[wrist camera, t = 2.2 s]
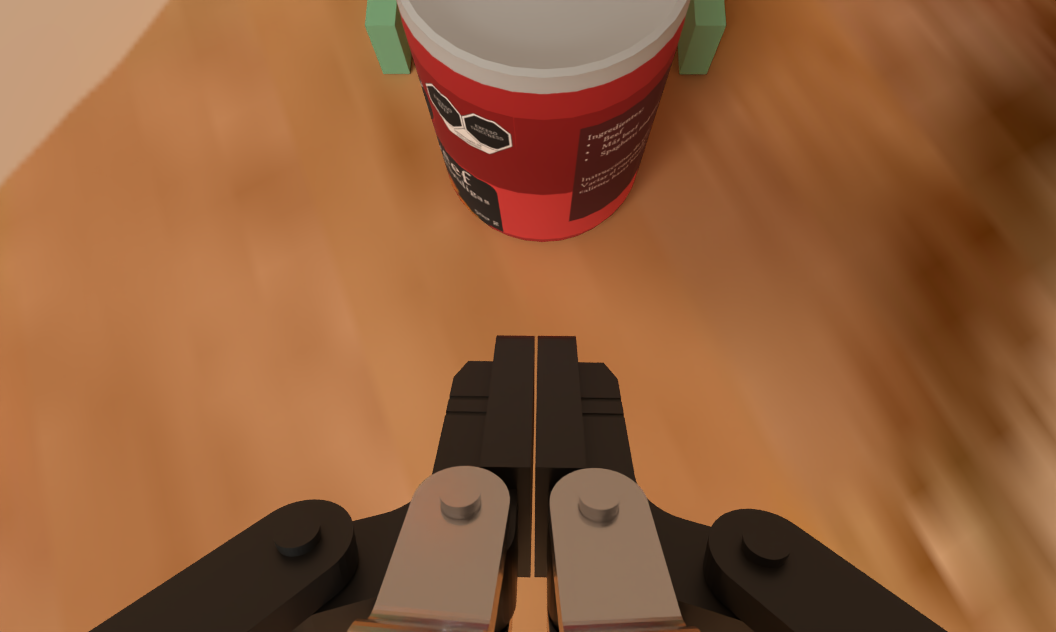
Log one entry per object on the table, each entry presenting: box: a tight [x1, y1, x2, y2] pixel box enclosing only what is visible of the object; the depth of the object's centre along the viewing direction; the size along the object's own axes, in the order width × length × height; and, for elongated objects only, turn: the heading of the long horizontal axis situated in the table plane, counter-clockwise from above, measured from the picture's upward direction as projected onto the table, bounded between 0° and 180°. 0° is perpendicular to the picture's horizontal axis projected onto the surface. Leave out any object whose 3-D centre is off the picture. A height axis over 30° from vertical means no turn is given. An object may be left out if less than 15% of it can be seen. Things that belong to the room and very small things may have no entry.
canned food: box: [396, 0, 690, 242], centre depth 21 cm, size 8×8×11 cm
